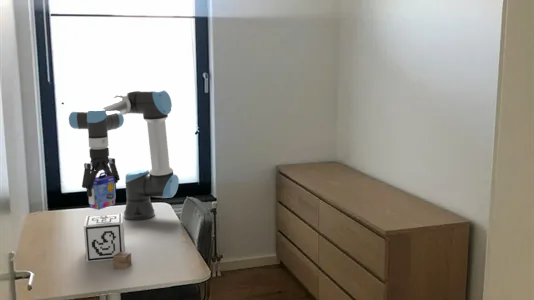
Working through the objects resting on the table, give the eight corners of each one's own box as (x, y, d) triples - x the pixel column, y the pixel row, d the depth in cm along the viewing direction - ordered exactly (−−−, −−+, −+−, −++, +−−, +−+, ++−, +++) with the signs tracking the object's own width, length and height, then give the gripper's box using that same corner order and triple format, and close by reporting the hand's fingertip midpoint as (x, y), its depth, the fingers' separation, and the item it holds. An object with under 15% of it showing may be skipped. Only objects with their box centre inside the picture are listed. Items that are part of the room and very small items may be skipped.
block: (86, 262, 235) (83, 226, 233) (88, 249, 250) (86, 215, 247) (124, 258, 239) (122, 222, 236) (124, 246, 253) (122, 212, 250)
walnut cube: (120, 263, 233) (119, 251, 232) (131, 264, 231) (130, 252, 231) (113, 268, 228) (112, 256, 227) (125, 269, 227) (124, 257, 226)
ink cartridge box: (99, 210, 235) (97, 174, 232) (89, 208, 238) (86, 173, 235) (116, 204, 244) (114, 170, 241) (106, 202, 246) (104, 169, 244)
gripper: (81, 152, 225) (85, 208, 229) (126, 144, 243) (129, 196, 247) (69, 151, 229) (73, 206, 233) (114, 142, 247) (117, 194, 251)
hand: (102, 201), depth 240 cm, fingers closed on ink cartridge box, 10 cm apart
